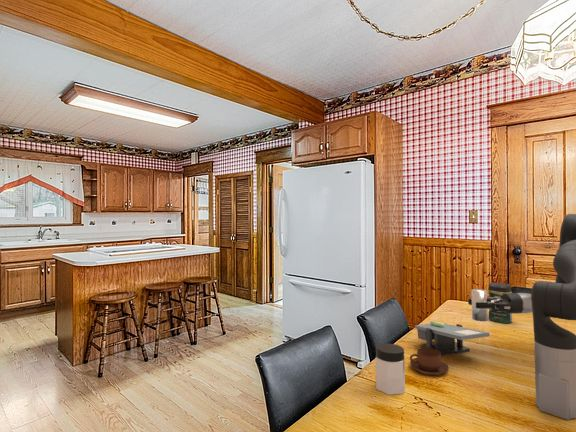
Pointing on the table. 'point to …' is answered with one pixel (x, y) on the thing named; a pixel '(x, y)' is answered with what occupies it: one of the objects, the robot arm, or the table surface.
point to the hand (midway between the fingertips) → (472, 303)
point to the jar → (390, 369)
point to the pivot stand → (445, 343)
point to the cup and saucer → (428, 362)
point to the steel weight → (479, 296)
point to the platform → (449, 331)
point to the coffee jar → (497, 291)
